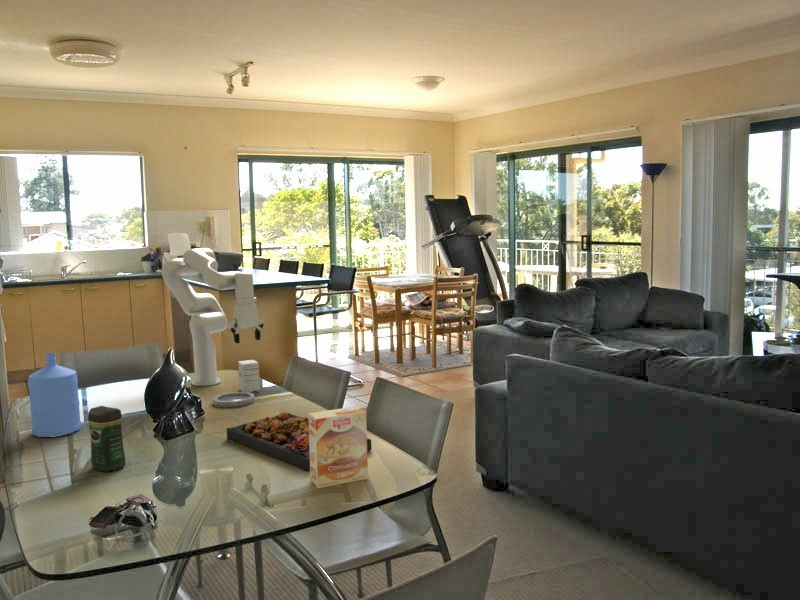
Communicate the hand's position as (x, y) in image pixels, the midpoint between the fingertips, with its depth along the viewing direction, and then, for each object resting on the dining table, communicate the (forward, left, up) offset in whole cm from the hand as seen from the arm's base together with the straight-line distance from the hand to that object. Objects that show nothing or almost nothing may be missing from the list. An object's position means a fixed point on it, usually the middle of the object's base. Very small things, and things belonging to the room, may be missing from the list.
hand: (247, 341), depth 301 cm
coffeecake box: (+112, -33, -22) cm, 118 cm away
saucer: (+13, -14, -21) cm, 29 cm away
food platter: (+77, -25, -22) cm, 84 cm away
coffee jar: (+55, -77, -22) cm, 97 cm away
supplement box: (0, 0, -22) cm, 22 cm away
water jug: (+4, -78, -22) cm, 81 cm away
